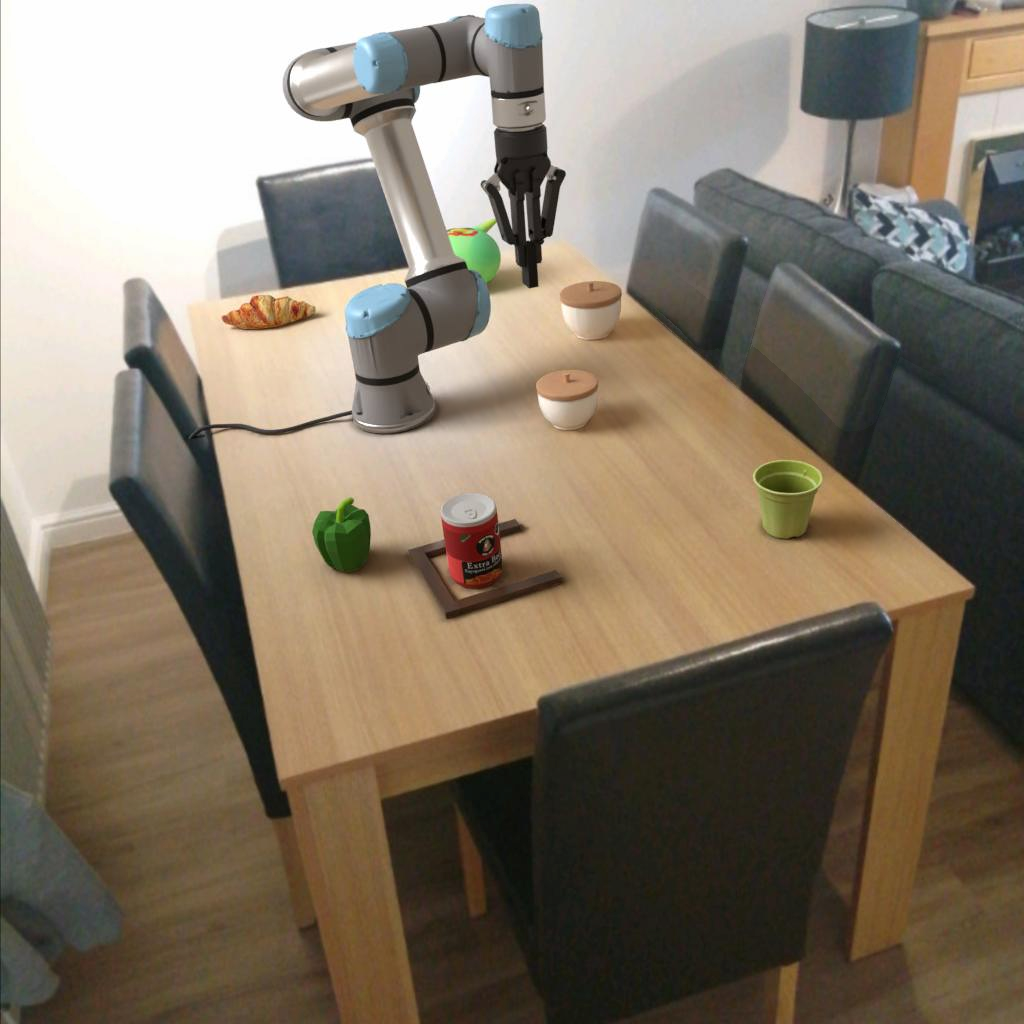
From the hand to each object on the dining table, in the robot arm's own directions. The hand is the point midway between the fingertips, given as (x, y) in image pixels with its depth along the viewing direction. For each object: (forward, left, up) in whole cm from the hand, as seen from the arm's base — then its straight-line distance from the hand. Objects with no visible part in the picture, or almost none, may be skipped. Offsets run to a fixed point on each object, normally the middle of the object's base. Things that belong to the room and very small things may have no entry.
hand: (530, 284), depth 160 cm
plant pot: (+39, -22, -29) cm, 53 cm away
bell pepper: (-23, -35, -29) cm, 51 cm away
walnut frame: (-2, -34, -29) cm, 45 cm away
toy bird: (-32, +79, -29) cm, 91 cm away
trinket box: (+3, +10, -29) cm, 31 cm away
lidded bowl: (+2, +50, -29) cm, 58 cm away
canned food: (-4, -36, -29) cm, 46 cm away
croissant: (-73, +57, -29) cm, 97 cm away
